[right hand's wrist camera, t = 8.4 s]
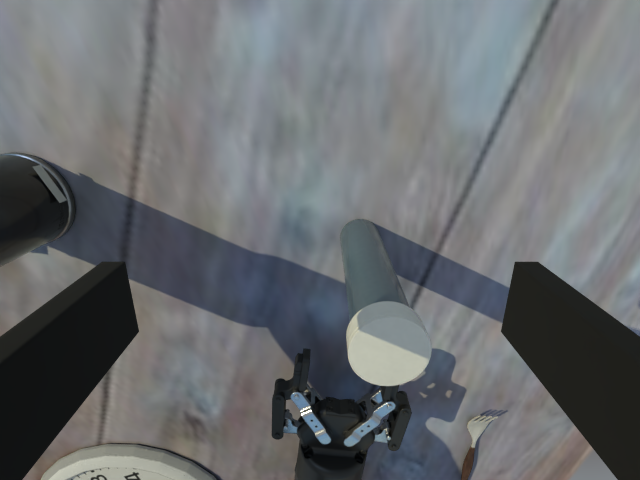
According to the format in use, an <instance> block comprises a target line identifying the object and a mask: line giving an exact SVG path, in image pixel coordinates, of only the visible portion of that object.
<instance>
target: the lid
mask: <svg viewBox="0 0 640 480" xmlns="http://www.w3.org/2000/svg"><path fill="white" fill-rule="evenodd" d="M346 340H347V350H348V359H349V363H350V365H351V367H352V369H353V370H354V372H355V373H356V374H357V375H358V376H359V377H361V378H362V379H363V380H365V381H367V382H369V383H372V384H375V385H380V386H395V385H400V384H403V383H406V382H409V381H411V380H412V379H414V378H416V377H417V376H418V375H420V374H421V373H422V372H423V370H424V369H425V368H426V366H427V365H428V363H429V361H430V358H431V353H432V346H431V341H430V339H429V336H428V334H427V332H426V329H425V327H424V325H423V323H422V320H421V319H420V317H419V315H418V314H417V313H416V312H415V311H414V310H413V309H411V308H410V307H408V306H406V305H404V304H401V303H398V302H392V301H383V302H377V303H373V304H370V305H368V306H366V307H364V308H363V309H361V310H360V311H359V312H357V313H356V314H355V316H354V317H353V318H352V319H351V321H350V323H349V325H348V328H347V333H346Z"/></svg>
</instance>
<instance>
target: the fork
mask: <svg viewBox="0 0 640 480" xmlns="http://www.w3.org/2000/svg"><path fill="white" fill-rule="evenodd" d="M479 417H481V416H480V415H479V416H477V417H475V418H473V419H472V420H470V421H469V422H468V424H467V427H468V430H469V432H470V434H471V436H472V439H473V441H472V444H471V447H470V449H469V451H468V453H467V456H466V458H465V460H464V463H463V469H462V477H461V480H467V479H468V477H469V474H470V472H471V469H472V466H473V459H474V451H475V444H476V441H477V439H478V438H479V436H480V435H481V433H482V432H483V431H484V430H485V428H486V427H487V425H488V424H489V423H490V422H491V421H492V420H494V419H496V418H498V416H496V417H493V418H492V416H489V417H487V418H485V417H486V416H483V417H481V418H479ZM477 418H479V419H477ZM483 418H485V419H483ZM489 418H491V419H489ZM475 419H477V420H476V421H474V420H475ZM481 419H483V420H482V421H480V420H481ZM488 419H489V420H488ZM486 420H488V421H486Z"/></svg>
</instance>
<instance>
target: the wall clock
mask: <svg viewBox="0 0 640 480" xmlns="http://www.w3.org/2000/svg"><path fill="white" fill-rule="evenodd" d="M41 480H217V479H216V478H215V477H214V476H213V475H211V474H210V473H208V472H207V471H205V470H204V469H202V468H201V467H199V466H198V465H196V464H195V463H193V462H192V461H190V460H187V459H185V458H182V457H180V456H177V455H175V454H173V453H170V452H168V451H165V450H160V449H156V448H151V447H146V446H141V445H136V444H105V445H99V446H94V447H89V448H83V449H80V450H78V451H76V452H74V453H71V454H69V455H67V456H65V457H63V458H61V459H59V460H58V461H57V462H56V463H55V464H54V465H53V466H52V467H50V468H49V469H48V470H47V471H46V472H45V473H44V475H43V476H42V478H41Z"/></svg>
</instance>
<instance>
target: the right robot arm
mask: <svg viewBox="0 0 640 480" xmlns="http://www.w3.org/2000/svg"><path fill="white" fill-rule="evenodd" d="M138 332H139V329H138V324H137V319H136V314H135V309H134V304H133V299H132V294H131V289H130V284H129V280H128V275H127V270H126V265H125V262H101V263H100V264H99V265H97V266H96V267H95V268H93V269H92V270H90V271H89V272H88V273H86V274H85V275H84V276H82V277H81V278H80V279H78V280H77V281H75V282H74V283H73V284H71V285H70V286H69V287H67V288H66V289H65V290H63V291H62V292H61V293H59V294H58V295H56V296H55V297H54V298H52V299H51V300H50V301H48V302H47V303H46V304H44V305H43V306H41V307H40V308H39V309H37V310H36V311H35V312H33V313H32V314H31V315H29V316H28V317H26V318H25V319H24V320H22V321H21V322H20V323H18V324H17V325H16V326H14V327H13V328H12V329H10V330H9V331H7V332H6V333H5V334H3V335H2V336H1V337H0V480H22V479H23V478H24V477H25V476H26V474H27V473H28V472H29V470H30V469H31V468H32V467H33V465H34V464H35V463H36V462H37V460H38V459H39V458H40V456H41V455H42V454H43V453H44V451H45V450H46V449H47V448H48V446H49V445H50V444H51V443H52V441H53V440H54V439H55V437H56V436H57V435H58V434H59V432H60V431H61V430H62V429H63V427H64V426H65V425H66V423H67V422H68V421H69V420H70V418H71V417H72V416H73V415H74V413H75V412H76V411H77V410H78V408H79V407H80V406H81V404H82V403H83V402H84V401H85V399H86V398H87V397H88V396H89V394H90V393H91V392H92V391H93V389H94V388H95V387H96V385H97V384H98V383H99V382H100V380H101V379H102V378H103V377H104V375H105V374H106V373H107V371H108V370H109V369H110V368H111V366H112V365H113V364H114V363H115V361H116V360H117V359H118V358H119V356H120V355H121V354H122V352H123V351H124V350H125V349H126V347H127V346H128V345H129V344H130V342H131V341H132V340H133V338H134V337H135V336H136V335H137V333H138ZM501 332H502V333H503V335H504V336H505V337H506V338H507V340H508V341H509V342H510V344H511V345H512V346H513V347H514V349H515V350H516V351H517V352H518V354H519V355H520V356H521V358H522V359H523V360H524V361H525V363H526V364H527V365H528V366H529V368H530V369H531V370H532V371H533V373H534V374H535V375H536V377H537V378H538V379H539V380H540V382H541V383H542V384H543V385H544V387H545V388H546V389H547V391H548V392H549V393H550V394H551V396H552V397H553V398H554V399H555V401H556V402H557V403H558V404H559V406H560V407H561V408H562V410H563V411H564V412H565V413H566V415H567V416H568V417H569V418H570V420H571V421H572V422H573V423H574V425H575V426H576V427H577V429H578V430H579V431H580V432H581V434H582V435H583V436H584V437H585V439H586V440H587V441H588V443H589V444H590V445H591V446H592V448H593V449H594V450H595V451H596V453H597V454H598V455H599V456H600V458H601V459H602V460H603V462H604V463H605V464H606V465H607V467H608V468H609V469H610V470H611V472H612V473H613V474H614V475H615V477H616V478H617V479H618V480H640V337H639V336H638V335H637V334H635V333H634V332H633V331H631V330H630V329H628V328H627V327H626V326H624V325H623V324H622V323H620V322H619V321H618V320H616V319H615V318H614V317H612V316H611V315H609V314H608V313H607V312H605V311H604V310H603V309H601V308H600V307H599V306H597V305H596V304H594V303H593V302H592V301H590V300H589V299H588V298H586V297H585V296H584V295H582V294H581V293H579V292H578V291H577V290H575V289H574V288H573V287H571V286H570V285H569V284H567V283H566V282H565V281H563V280H562V279H560V278H559V277H558V276H556V275H555V274H554V273H552V272H551V271H550V270H548V269H547V268H545V267H544V266H543V265H541V264H540V263H539V262H515V265H514V270H513V275H512V279H511V284H510V289H509V294H508V299H507V304H506V309H505V314H504V319H503V324H502V329H501Z"/></svg>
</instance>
